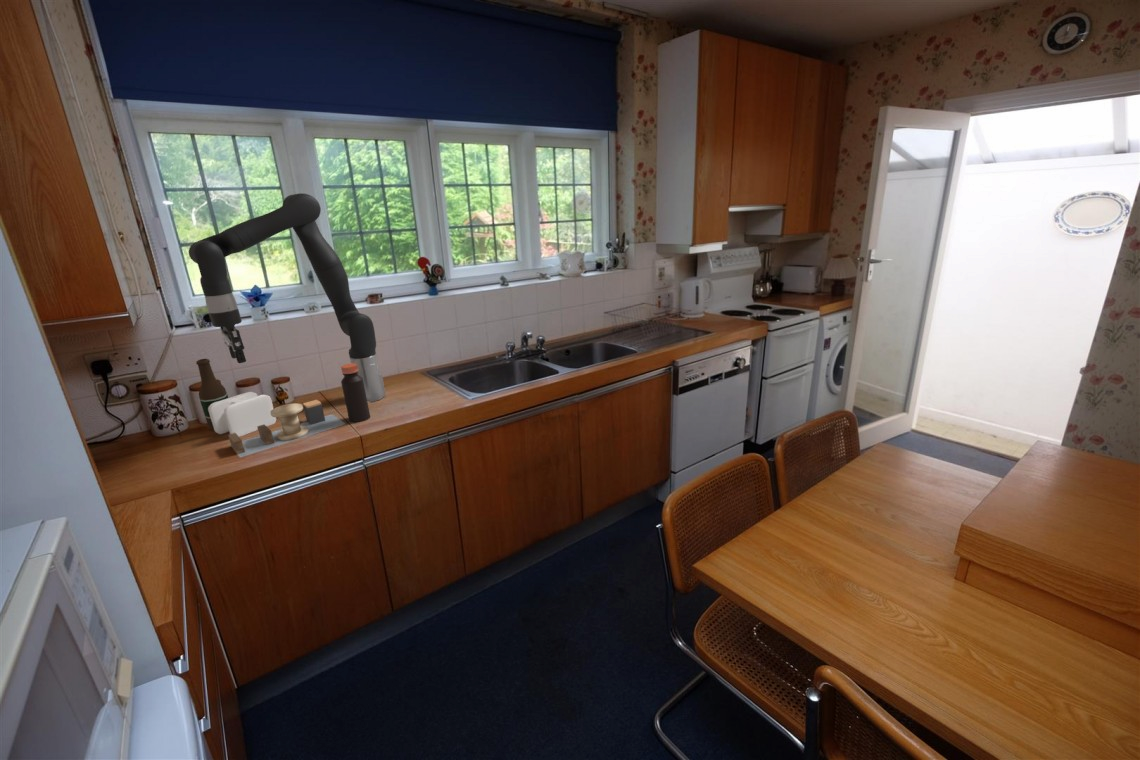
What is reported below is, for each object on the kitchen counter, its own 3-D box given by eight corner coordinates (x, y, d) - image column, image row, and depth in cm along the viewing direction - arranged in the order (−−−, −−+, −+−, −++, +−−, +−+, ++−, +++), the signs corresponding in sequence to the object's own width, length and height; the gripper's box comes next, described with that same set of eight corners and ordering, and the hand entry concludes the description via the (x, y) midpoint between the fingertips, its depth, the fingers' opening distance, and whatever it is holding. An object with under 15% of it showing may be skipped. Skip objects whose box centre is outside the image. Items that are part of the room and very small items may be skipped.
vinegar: (371, 415, 174) (361, 361, 167) (370, 423, 168) (358, 367, 161) (351, 419, 172) (339, 364, 166) (348, 426, 166) (336, 369, 159)
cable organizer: (232, 442, 158) (221, 409, 154) (215, 436, 164) (205, 404, 160) (278, 425, 170) (270, 393, 166) (261, 419, 176) (253, 389, 172)
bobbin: (303, 426, 165) (297, 401, 162) (312, 433, 159) (306, 407, 156) (273, 435, 159) (266, 409, 157) (282, 443, 153) (275, 416, 150)
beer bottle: (220, 421, 176) (200, 356, 168) (240, 421, 175) (221, 356, 167) (203, 431, 169) (181, 363, 161) (225, 430, 168) (204, 362, 160)
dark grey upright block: (320, 417, 172) (316, 399, 170) (325, 420, 169) (321, 402, 167) (307, 421, 169) (302, 403, 167) (311, 424, 166) (307, 406, 164)
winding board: (332, 416, 175) (332, 414, 175) (346, 426, 166) (346, 423, 166) (230, 447, 155) (229, 444, 154) (240, 460, 146) (239, 457, 146)
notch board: (267, 435, 160) (264, 424, 158) (274, 442, 154) (271, 431, 153) (231, 446, 153) (227, 434, 152) (237, 454, 148) (233, 442, 146)
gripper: (242, 309, 148) (258, 361, 153) (232, 304, 157) (247, 353, 163) (213, 314, 143) (230, 367, 148) (204, 309, 153) (220, 359, 158)
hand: (239, 360), depth 156 cm, fingers open, 8 cm apart
